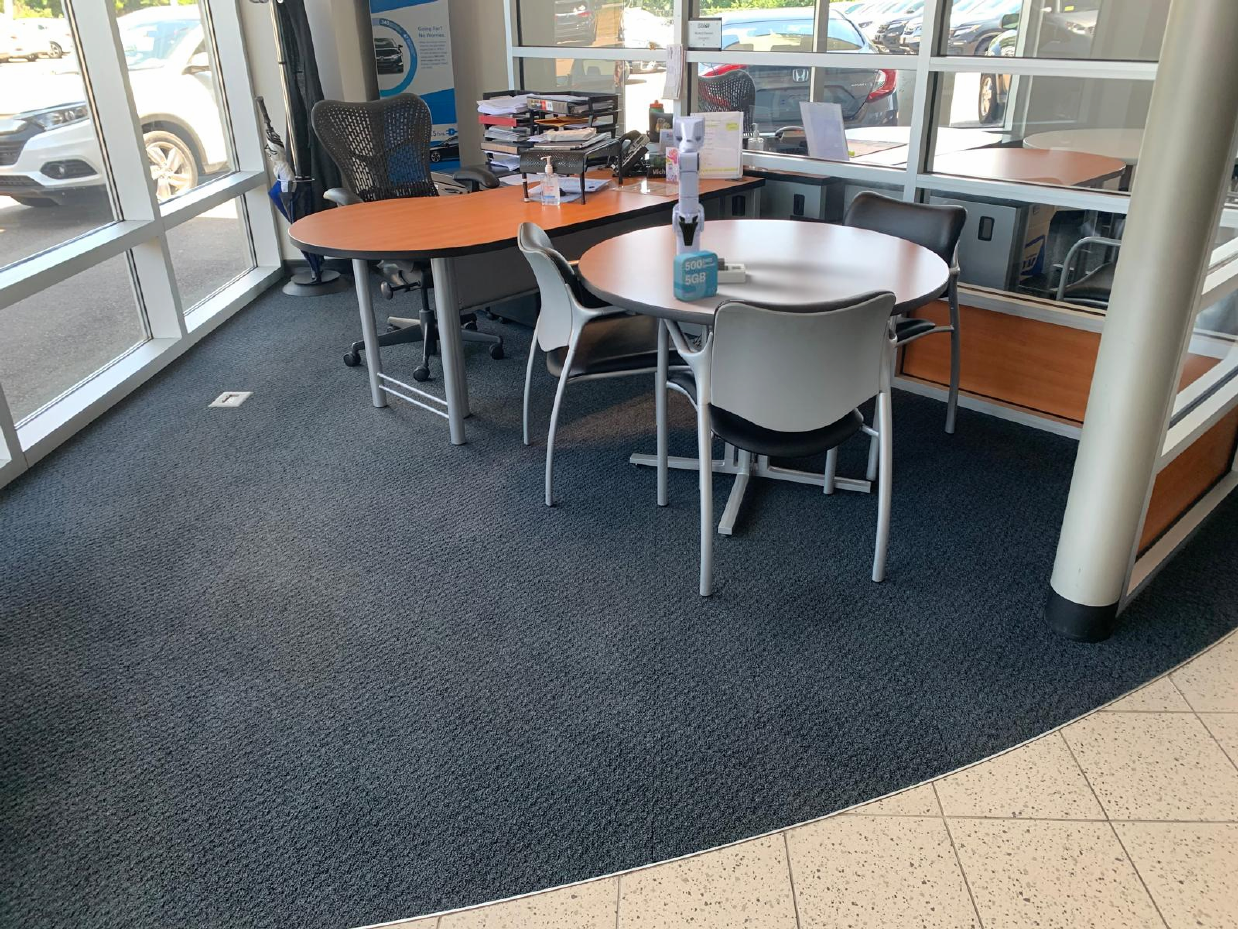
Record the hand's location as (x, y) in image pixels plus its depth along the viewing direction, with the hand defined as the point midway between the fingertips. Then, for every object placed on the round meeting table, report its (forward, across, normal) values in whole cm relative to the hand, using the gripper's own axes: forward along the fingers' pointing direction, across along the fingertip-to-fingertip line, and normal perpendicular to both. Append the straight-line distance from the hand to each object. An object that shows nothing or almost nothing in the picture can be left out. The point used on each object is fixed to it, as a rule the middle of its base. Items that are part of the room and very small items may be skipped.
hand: (688, 242), depth 269 cm
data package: (+10, +24, +2) cm, 26 cm away
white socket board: (+9, +5, +8) cm, 13 cm away
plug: (+10, +5, +9) cm, 14 cm away
